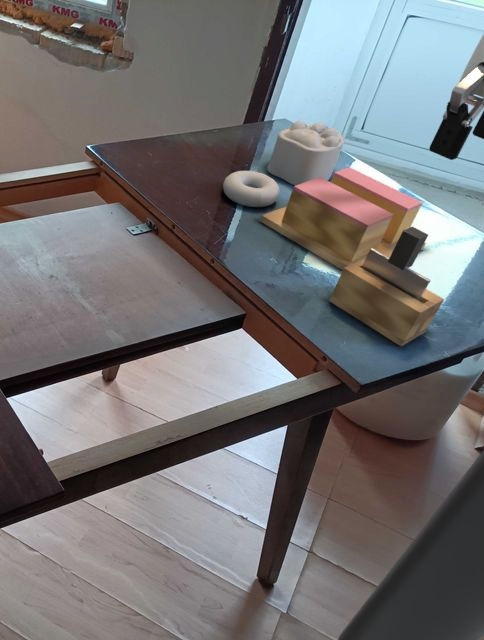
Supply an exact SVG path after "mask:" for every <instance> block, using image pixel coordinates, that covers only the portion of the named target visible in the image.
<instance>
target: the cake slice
mask: <svg viewBox="0 0 484 640" xmlns="http://www.w3.org/2000/svg"><path fill="white" fill-rule="evenodd" d="M330 182H331V183H333V184H335V185H337V186H339V187H341V188H343V189H345V190H347V191H349V192H351V193H353V194H355V195H357V196H359V197H361V198H363V199H365V200H367V201H368V202H370V203H372V204H374V205H376V206H378V207H380V208H382V209H384V210H386V211H388V212H390V213H392V214H394V215H393V217H392V219H391V221H390V223H389V225H388V227H387V230H386V232H385V234H384V236H383V238H382V239H383V240H385V241H387V242H389V243H390V244H392V243H394V242H396V241H398V240H399V238H400V236H401V234H402V232H403V230H406V229H408V228H410V227H412V225H413V223H414V221H415V219H416V218H417V215H418V213H419V211H420V209H421V208H422V206H423V202H422V201H420V200H419V199H417V198H414V197H412V196H410V195H408V194H406V193H404V192H403V191H399V190H398V189H395V188H394V187H392V186H390V185H388V184H385V183H383V182H381V181H379V180H376V179H375V178H373V177H370V176H369V175H366V174H365V173H362V172H361V171H358V170H356V169H354V168H352V167H350V166H349V167H346V168H343V169H340V170H338V171H335V172H334V173H333V176H332V178H331V181H330Z"/></svg>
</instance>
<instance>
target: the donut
mask: <svg viewBox="0 0 484 640" xmlns="http://www.w3.org/2000/svg"><path fill="white" fill-rule="evenodd" d="M222 188H223V192H224V194H225V195H226V196H227V198H228V199H230V200H231V201H233V202H234V203H236V204H239V205H241V206H245V207H249V208H266V207H268V206H271V205H272V204H274V203H275V202H276V201H277V200H278V198H279V195H280V191H281V190H280V187H279V185H278V183H277V182H276V181H275V180H274V179H273V178H272V177H270V176H268V175H267V174H264V173H261V172H259V171H258V172H257V171H255V170H238V171H234V172H232V173H230V174H229V175H227V176H226V177H225V179H224V181H223V184H222Z"/></svg>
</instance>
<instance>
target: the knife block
mask: <svg viewBox="0 0 484 640" xmlns="http://www.w3.org/2000/svg"><path fill="white" fill-rule="evenodd" d="M365 259H366V258H364V259H362V260H360V261H358V262H356V263H353V264H351V265H349V266H347V267H345V268H344V269H343V270H341V271H342V272H341V274H340V275H339V278H338V280H337V282H336V285H335V287H334V289H333V290H332V294H331V296H330V298H329V301H328V302H330V303H331V304H333V305H335V306H336V307H338V308H340V309H341V310H343V311H344V312H346V313H347V314H349V315H351V316H352V317H354V318H355V319H357V320H359V321H360V322H362V323H363V324H365V325H366V326H368V327H369V328H371V329H373V330H374V331H375V332H377V333H379V334H381V335H382V336H384V337H385V338H387V339H389V340H390V341H392V342H393V343H395V345H398V346H399V347H403V346H405V345H406V344H408V343H410V342H411V341H412V340H414V339H416V338H418V337H420V336H421V335H423V334H425V333H426V331H427V330H428V328H429V327H430V324H431V323H432V321H433V320H434V318H435V316H436V314H437V313H438V311H439V310H440V308H441V306H442V304H443V303H444V301H445V298H443V297H441V296H440V295H438V294H436V293H435V292H432V291H431V290H429V289H427V288H426V290H425V291H424V293H423V295H422V297H421V298H420V300H419V301H418V300H416V299H414V298H413V297H411V296H409V295H407V294H406V293H404V292H402V291H401V290H399V289H397V288H395V287H394V286H392V285H390V284H388V283H387V282H385V281H383V280H382V279H380V278H378V277H376V276H375V275H373V274H371V273H369V272H368V271H366V270H364V269H363V268H362V265H363V263H364V261H365Z"/></svg>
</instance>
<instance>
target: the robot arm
mask: <svg viewBox="0 0 484 640" xmlns="http://www.w3.org/2000/svg"><path fill="white" fill-rule="evenodd" d="M469 105H470V106H473V107H472V108H471V109H470V111H469ZM445 109H446V110H445V112H444V113H443V115H442V120H441V123H440V124H439V127H438V128H437V131H436V133H435V135H434V137H433V140H432V141H431V143H430V145H429V148H428V149H429V151H430V152H431V153H433V154H437V155H439V156H440V157H443V158H445V159H448V160H450V161H454V160H456V159H457V158H458V157H459V155H460V153H461V151H462V149H463V147H464V145H465V143H466V141H467V140H468V137H469V136H470V134H471V132H472V136H475V137H477V138H478V139H479V138H480V139H482V140H484V33H482V35H481V37H480V39H479V41H478V43H477V45H476V47H475V49H474V51H473V52H472V54H471V56H470V58H469V60H468V62H467V64H466V66H465V68H464V70H463V72H462V75H461V77H460V79H459V81H458V83H457V84H456V85H455V86H454V87H453V89H452V91H451V94H450V98H449V101H448V102H447V104H446V108H445ZM480 113H481V115H480V117H479V119H478V120H477V122H476V124H475V126H474V127H473V126H472V123H473V122H474V120H476V118H477V117H478V116H479V114H480Z"/></svg>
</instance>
